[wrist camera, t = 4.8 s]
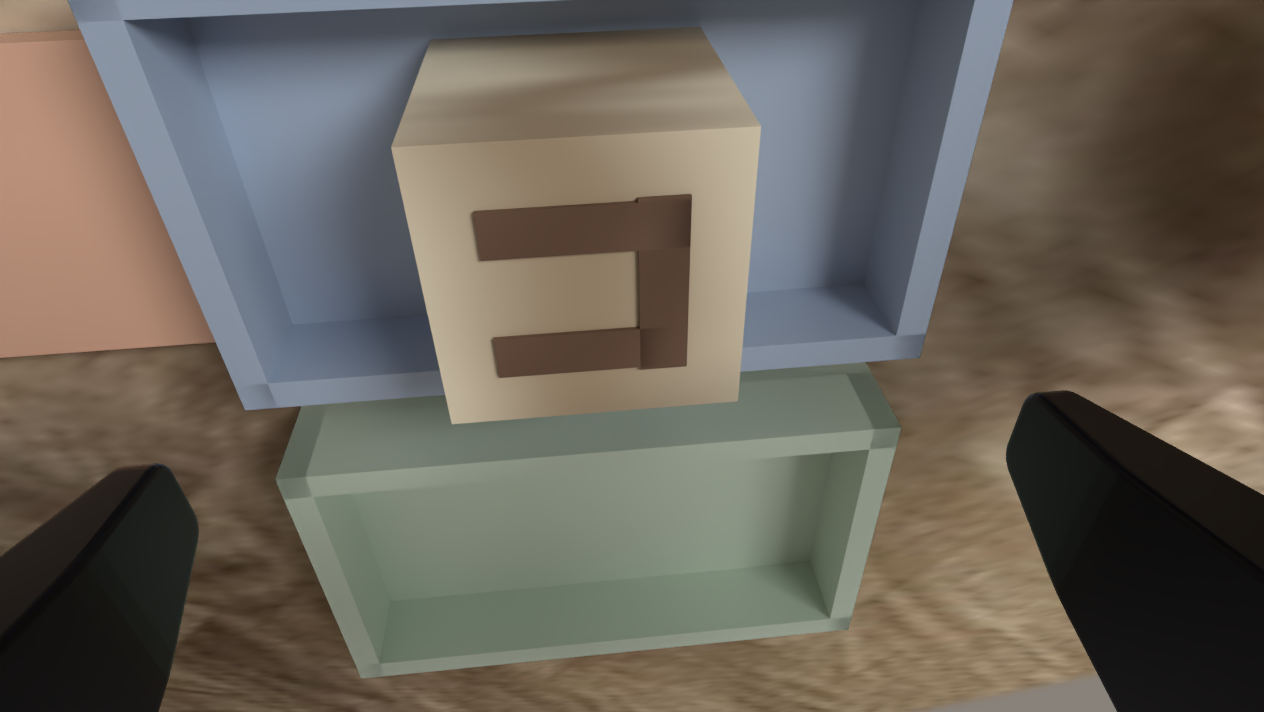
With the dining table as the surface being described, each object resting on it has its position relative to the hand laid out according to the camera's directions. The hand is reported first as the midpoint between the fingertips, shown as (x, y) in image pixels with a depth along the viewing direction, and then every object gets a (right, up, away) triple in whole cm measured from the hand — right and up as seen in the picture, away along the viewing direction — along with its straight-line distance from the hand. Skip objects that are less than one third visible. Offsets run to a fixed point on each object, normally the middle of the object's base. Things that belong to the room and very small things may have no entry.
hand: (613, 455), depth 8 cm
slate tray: (-1, +5, +7) cm, 8 cm away
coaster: (-11, +4, +6) cm, 13 cm away
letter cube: (-1, +5, +6) cm, 8 cm away
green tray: (-1, -2, +12) cm, 13 cm away
